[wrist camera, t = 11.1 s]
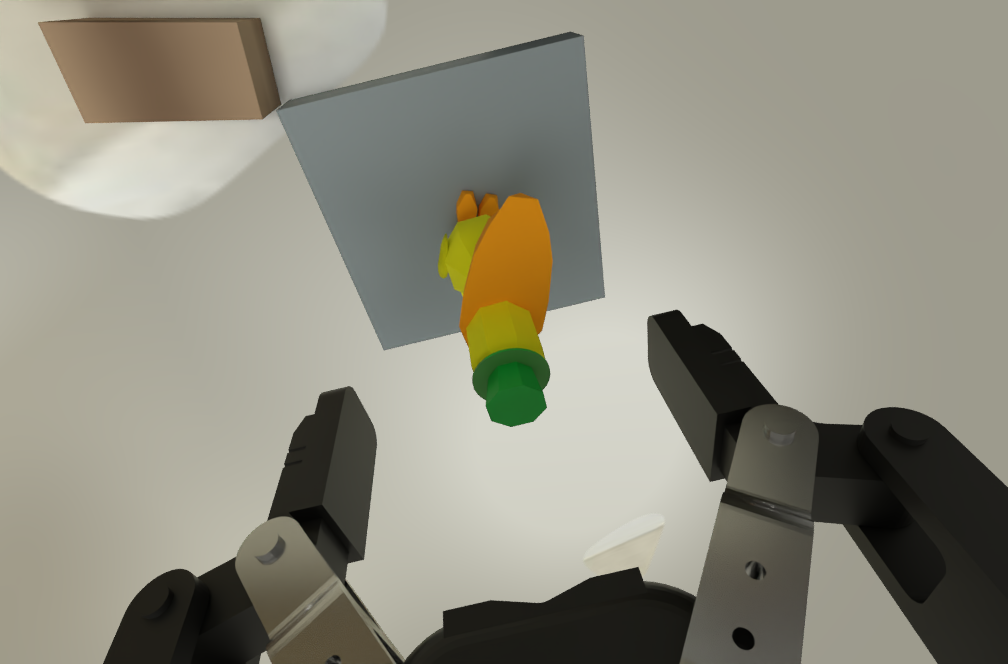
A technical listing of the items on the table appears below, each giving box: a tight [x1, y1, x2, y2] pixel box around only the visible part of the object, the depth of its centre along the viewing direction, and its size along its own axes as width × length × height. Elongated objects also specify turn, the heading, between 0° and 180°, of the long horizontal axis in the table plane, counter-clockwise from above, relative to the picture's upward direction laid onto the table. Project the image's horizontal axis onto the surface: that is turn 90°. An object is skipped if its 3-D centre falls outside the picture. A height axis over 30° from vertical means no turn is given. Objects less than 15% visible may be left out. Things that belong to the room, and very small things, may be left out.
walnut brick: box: [38, 18, 281, 123], centre depth 18 cm, size 6×3×3 cm, turn 89°
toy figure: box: [438, 190, 553, 427], centre depth 17 cm, size 7×4×12 cm, turn 171°
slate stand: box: [277, 32, 605, 350], centre depth 23 cm, size 12×12×2 cm
